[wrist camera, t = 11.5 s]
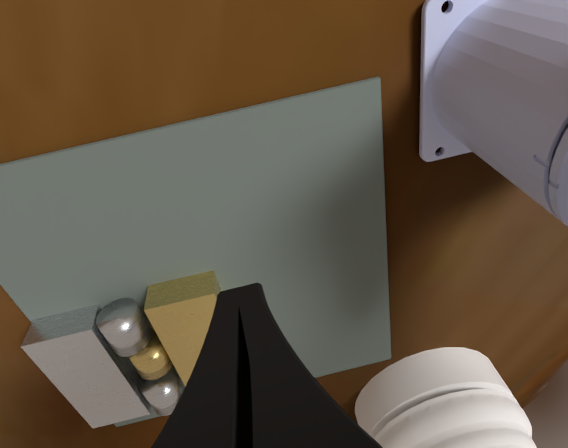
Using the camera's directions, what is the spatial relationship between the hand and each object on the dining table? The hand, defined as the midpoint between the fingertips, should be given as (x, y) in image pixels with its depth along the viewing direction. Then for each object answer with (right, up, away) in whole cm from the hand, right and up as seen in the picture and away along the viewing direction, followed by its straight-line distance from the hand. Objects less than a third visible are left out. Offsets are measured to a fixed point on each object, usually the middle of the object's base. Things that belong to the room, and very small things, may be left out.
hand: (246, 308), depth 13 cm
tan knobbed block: (-5, -4, +14) cm, 15 cm away
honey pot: (+14, -12, +24) cm, 30 cm away
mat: (-3, -1, +13) cm, 13 cm away
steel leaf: (-10, -6, +14) cm, 18 cm away
